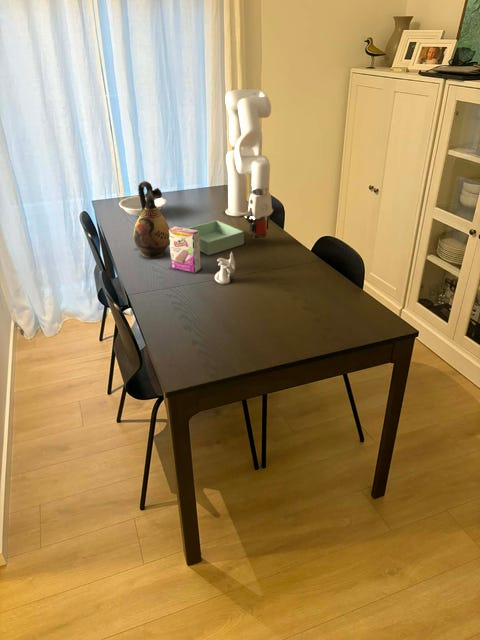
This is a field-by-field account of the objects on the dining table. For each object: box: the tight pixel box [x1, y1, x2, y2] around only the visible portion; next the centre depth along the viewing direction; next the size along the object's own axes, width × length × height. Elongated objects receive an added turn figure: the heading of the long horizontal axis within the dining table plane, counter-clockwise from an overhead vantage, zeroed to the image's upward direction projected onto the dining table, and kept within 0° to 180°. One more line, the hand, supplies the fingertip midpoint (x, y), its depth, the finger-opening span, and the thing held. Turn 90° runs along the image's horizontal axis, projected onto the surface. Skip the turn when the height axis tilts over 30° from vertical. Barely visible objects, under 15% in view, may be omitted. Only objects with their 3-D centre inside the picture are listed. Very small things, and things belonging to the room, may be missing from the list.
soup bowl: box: [118, 195, 168, 218], centre depth 250 cm, size 24×24×7 cm
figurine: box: [214, 251, 236, 285], centre depth 182 cm, size 11×8×12 cm
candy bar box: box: [169, 225, 202, 274], centre depth 192 cm, size 11×5×16 cm, turn 65°
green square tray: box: [187, 219, 245, 256], centre depth 218 cm, size 20×20×6 cm
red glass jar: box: [250, 215, 268, 240], centre depth 216 cm, size 7×7×10 cm
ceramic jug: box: [132, 180, 170, 259], centre depth 201 cm, size 17×15×30 cm
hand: (258, 229), depth 217 cm, fingers closed on red glass jar, 6 cm apart
